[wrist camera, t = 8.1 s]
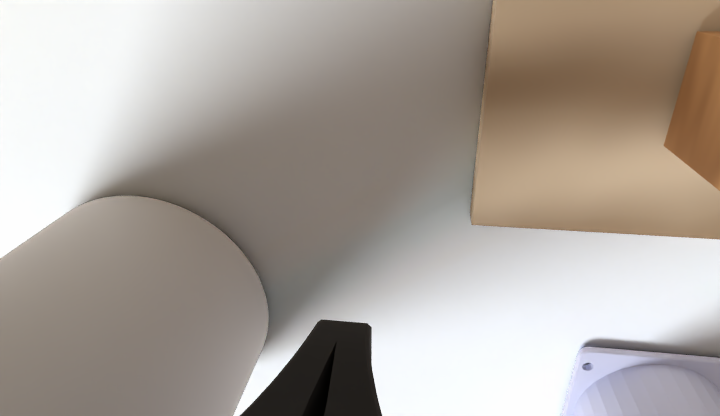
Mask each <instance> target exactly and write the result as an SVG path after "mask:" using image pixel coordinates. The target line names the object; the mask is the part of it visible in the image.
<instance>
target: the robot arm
mask: <svg viewBox="0 0 720 416" xmlns="http://www.w3.org/2000/svg"><path fill="white" fill-rule="evenodd" d="M585 363H590V364H588V365H583V364H585ZM240 416H382V414H381V410H380V406H379V402H378V398H377V394H376V389H375V383H374V378H373V373H372V366H371V327H370V326H369V325H368V324H367V323H356V322H344V321H332V320H320V321H319V322H318V323H317V324H316V325H315V327H314V328H313V330H312V331H311V333H310V334H309V336H308V337H307V339H306V340H305V341H304V343H303V344H302V345H301V347H300V348H299V349H298V351H297V352H296V353H295V355H294V356H293V357H292V358H291V360H290V361H289V362H288V363H287V365H286V366H285V367H284V368H283V370H282V371H281V372H280V373H279V374H278V376H277V377H276V378H275V379H274V380H273V381H272V383H271V384H270V385H269V386H268V387H267V388H266V389H265V390H264V391H263V392H262V393H261V395H260V396H259V397H258V398H257V399H256V400H255V401H254V402H253V403H252V404H251V405H250V406H249V407H248V408H247V409H246V410H245V411H244V412H243V413H242V414H241V415H240ZM561 416H720V358H716V357H704V356H693V355H681V354H670V353H658V352H646V351H635V350H623V349H611V348H600V347H584V348H582V349H580V350H579V351H578V353H577V357H576V361H575V365H574V368H573V372H572V376H571V380H570V384H569V388H568V391H567V395H566V399H565V403H564V407H563V411H562V414H561Z"/></svg>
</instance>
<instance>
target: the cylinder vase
mask: <svg viewBox="0 0 720 416" xmlns="http://www.w3.org/2000/svg"><path fill="white" fill-rule="evenodd" d="M268 324H269V313H268V304H267V299H266V295H265V292H264V289H263V286H262V283H261V281H260V279H259V277H258V275H257V273H256V271H255V269H254V268H253V266H252V264H251V263H250V261H249V260H248V259H247V257H246V256H245V255H244V253H243V252H242V251H241V250H240V249H239V247H238V246H237V245H236V244H235V243H234V242H233V241H232V240H231V239H230V238H229V237H228V236H227V235H225V234H224V233H223V232H222V231H221V230H219V229H218V228H217V227H215V226H214V225H213V224H211V223H210V222H208V221H207V220H205V219H204V218H202V217H200V216H198V215H197V214H195V213H193V212H191V211H189V210H187V209H184V208H182V207H180V206H177V205H174V204H172V203H168V202H165V201H162V200H158V199H153V198H148V197H140V196H111V197H104V198H100V199H96V200H92V201H89V202H86V203H84V204H82V205H79V206H77V207H75V208H74V209H72V210H70V211H69V212H67V213H66V214H64V215H63V216H62V217H60V218H59V219H57V220H56V221H54V222H53V223H51V224H50V225H48V226H47V227H46V228H44V229H43V230H41V231H40V232H38V233H37V234H35V235H34V236H32V237H31V238H30V239H28V240H27V241H25V242H24V243H22V244H21V245H19V246H18V247H16V248H15V249H14V250H12V251H11V252H9V253H8V254H6V255H5V256H3V257H2V258H0V416H233V415H234V412H235V410H236V408H237V405H238V403H239V401H240V399H241V396H242V394H243V392H244V390H245V387H246V385H247V383H248V380H249V378H250V376H251V374H252V371H253V369H254V367H255V365H256V362H257V360H258V358H259V356H260V353H261V351H262V349H263V346H264V344H265V341H266V337H267V332H268Z"/></svg>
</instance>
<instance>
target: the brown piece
mask: <svg viewBox="0 0 720 416" xmlns="http://www.w3.org/2000/svg"><path fill="white" fill-rule="evenodd" d="M664 147H666V148H667V149H668V150H669V151H671V152H672V153H673V154H674V155H676V156H677V157H678V158H679V159H681V160H682V161H683V162H684V163H685V164H687V165H688V166H689V167H690V168H692V169H693V170H694V171H695V172H697V173H698V174H699V175H700V176H702V177H703V178H704V179H705V180H707V181H708V182H709V183H710V184H712V185H713V186H714V187H715V188H717V189H718V190H719V191H720V31H697V33H696V36H695V40H694V43H693V46H692V50H691V53H690V57H689V60H688V63H687V67H686V70H685V74H684V77H683V81H682V84H681V87H680V91H679V94H678V98H677V101H676V105H675V108H674V111H673V115H672V118H671V122H670V125H669V128H668V132H667V135H666V139H665V142H664Z"/></svg>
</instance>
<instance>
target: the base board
mask: <svg viewBox="0 0 720 416" xmlns="http://www.w3.org/2000/svg"><path fill="white" fill-rule="evenodd" d="M697 31H720V0H493V4H492V13H491V22H490V31H489V41H488V50H487V59H486V68H485V78H484V87H483V96H482V105H481V114H480V124H479V133H478V142H477V151H476V161H475V170H474V179H473V188H472V197H471V207H470V216H471V223H472V225H483V226H500V227H517V228H534V229H552V230H569V231H586V232H603V233H620V234H638V235H655V236H672V237H689V238H707V239H720V191H719V190H718V189H717V188H715V187H714V186H713V185H712V184H710V183H709V182H708V181H707V180H705V179H704V178H703V177H702V176H700V175H699V174H698V173H697V172H695V171H694V170H693V169H692V168H690V167H689V166H688V165H687V164H685V163H684V162H683V161H682V160H681V159H679V158H678V157H677V156H676V155H674V154H673V153H672V152H671V151H669V150H668V149H667V148H666V147H664V142H665V139H666V135H667V132H668V128H669V125H670V122H671V118H672V115H673V111H674V108H675V105H676V101H677V98H678V94H679V91H680V87H681V84H682V81H683V77H684V74H685V70H686V67H687V63H688V60H689V57H690V53H691V50H692V46H693V43H694V40H695V36H696V33H697Z"/></svg>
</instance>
